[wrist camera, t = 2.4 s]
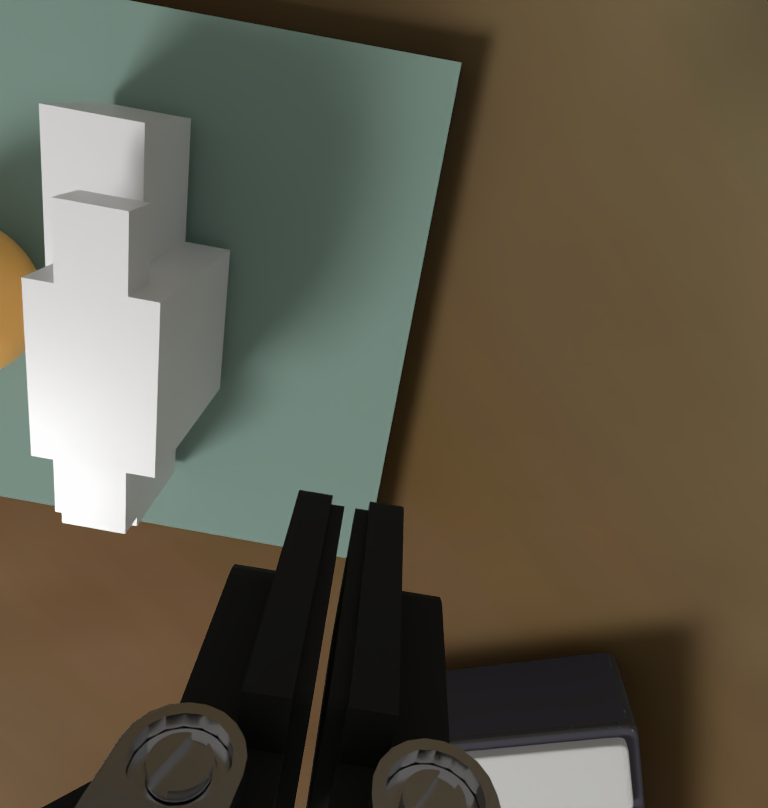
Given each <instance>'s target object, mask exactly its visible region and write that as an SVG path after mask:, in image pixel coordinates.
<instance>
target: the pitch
mask: <svg viewBox="0 0 768 808" xmlns="http://www.w3.org/2000/svg"><path fill="white" fill-rule="evenodd" d="M461 64H462V63H461V62H456V61H450V60H445V59H440V58H434V57H429V56H424V55H418V54H413V53H408V52H402V51H397V50H392V49H386V48H381V47H376V46H370V45H365V44H360V43H354V42H349V41H344V40H338V39H333V38H328V37H322V36H317V35H312V34H306V33H301V32H296V31H290V30H285V29H279V28H274V27H269V26H263V25H258V24H253V23H247V22H242V21H237V20H231V19H226V18H221V17H215V16H210V15H205V14H199V13H194V12H189V11H183V10H178V9H173V8H167V7H162V6H157V5H151V4H146V3H141V2H135V1H130V0H0V231H2V232H3V233H5V234H6V235H8V236H9V237H10V238H11V239H12V240H14V241H15V242H16V243H17V244H18V245H19V246H20V247H21V248H22V249H23V251H24V252H25V253H26V254H27V256H28V257H29V258H30V260H31V262H32V263H33V265H34V267H35V269H36V271H37V270H39V269H41V268H44V267H45V245H44V220H43V196H42V171H41V146H40V121H39V103H78V102H104V103H110V104H115V105H120V106H126V107H131V108H137V109H142V110H147V111H153V112H158V113H164V114H169V115H174V116H180V117H185V118H191V131H190V153H189V174H188V196H187V218H186V239H185V242H190V243H195V244H201V245H206V246H212V247H217V248H223V249H228V250H230V259H229V272H228V286H227V299H226V313H225V326H224V340H223V353H222V367H221V380H220V389H219V391H218V392H217V393H216V395H215V396H214V397H213V399H212V400H211V401H210V403H209V404H208V406H207V407H206V408H205V410H204V411H203V412H202V414H201V415H200V417H199V418H198V419H197V421H196V422H195V423H194V425H193V426H192V428H191V429H190V430H189V432H188V433H187V434H186V436H185V437H184V439H183V440H182V441H181V443H180V444H179V445H178V447H177V448H176V456H175V472H174V473H173V474H172V476H171V477H170V479H169V480H168V482H167V483H166V485H165V486H164V487H163V489H162V490H161V492H160V493H159V495H158V496H157V498H156V499H155V501H154V502H153V503H152V505H151V506H150V508H149V509H148V511H147V512H146V514H145V515H144V517H143V518H142V519H141V521H142V522H148V523H154V524H159V525H165V526H170V527H176V528H181V529H187V530H193V531H198V532H204V533H209V534H215V535H220V536H226V537H232V538H237V539H243V540H248V541H254V542H260V543H265V544H271V545H276V546H282V547H283V544H284V541H285V537H286V534H287V530H288V527H289V524H290V520H291V517H292V513H293V510H294V506H295V503H296V499H297V496H298V492H299V490H304V491H310V492H316V493H322V494H328V495H333V499H332V504H333V505H339V506H345V507H344V513H343V519H342V525H341V531H340V537H339V543H338V549H337V555H336V556H338V557H343V558H346V557H347V551H348V546H349V540H350V535H351V529H352V523H353V518H354V512H355V508H357V509H363V510H368V507H369V503H370V501H371V502H376V501H377V496H378V491H379V486H380V480H381V475H382V470H383V465H384V460H385V455H386V449H387V444H388V439H389V434H390V429H391V424H392V419H393V413H394V408H395V403H396V398H397V393H398V388H399V383H400V377H401V372H402V367H403V362H404V357H405V352H406V347H407V341H408V336H409V331H410V326H411V321H412V316H413V311H414V305H415V300H416V295H417V290H418V285H419V280H420V275H421V269H422V264H423V259H424V254H425V249H426V244H427V239H428V233H429V228H430V223H431V218H432V213H433V208H434V203H435V197H436V192H437V187H438V182H439V177H440V172H441V166H442V161H443V156H444V151H445V146H446V141H447V136H448V130H449V125H450V120H451V115H452V110H453V105H454V100H455V94H456V89H457V84H458V79H459V74H460V69H461ZM0 496H3V497H9V498H14V499H20V500H25V501H31V502H37V503H42V504H48V505H53V506H55V493H54V468H53V460H52V459H47V458H41V457H36V456H31V444H30V426H29V408H28V390H27V372H26V354H25V352H24V353H23V354H22V355H21V356H20V357H19V358H17V359H16V360H15V361H14V362H12V363H11V364H9V365H8V366H6V367H4V368H2V369H0Z"/></svg>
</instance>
